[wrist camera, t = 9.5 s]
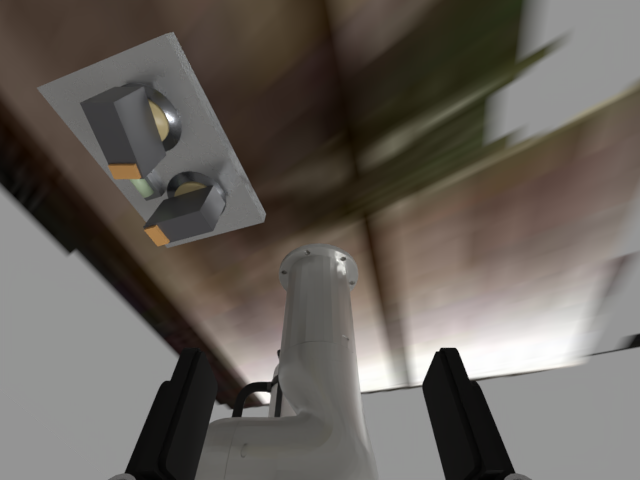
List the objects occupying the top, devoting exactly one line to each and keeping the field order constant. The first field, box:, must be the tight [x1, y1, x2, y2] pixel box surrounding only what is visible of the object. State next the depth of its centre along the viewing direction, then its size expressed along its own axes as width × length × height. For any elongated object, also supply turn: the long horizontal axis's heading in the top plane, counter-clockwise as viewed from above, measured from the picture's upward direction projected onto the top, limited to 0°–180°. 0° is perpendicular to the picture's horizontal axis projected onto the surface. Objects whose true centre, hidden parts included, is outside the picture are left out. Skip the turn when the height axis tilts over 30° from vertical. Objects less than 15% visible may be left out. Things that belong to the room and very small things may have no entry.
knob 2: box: [143, 181, 225, 246], centre depth 36 cm, size 5×7×7 cm
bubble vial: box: [129, 172, 165, 201], centre depth 36 cm, size 5×2×2 cm, turn 18°
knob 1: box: [80, 87, 169, 179], centre depth 30 cm, size 5×7×7 cm
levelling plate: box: [37, 32, 266, 248], centre depth 37 cm, size 22×15×2 cm
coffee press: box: [232, 349, 296, 417], centre depth 56 cm, size 17×16×30 cm
